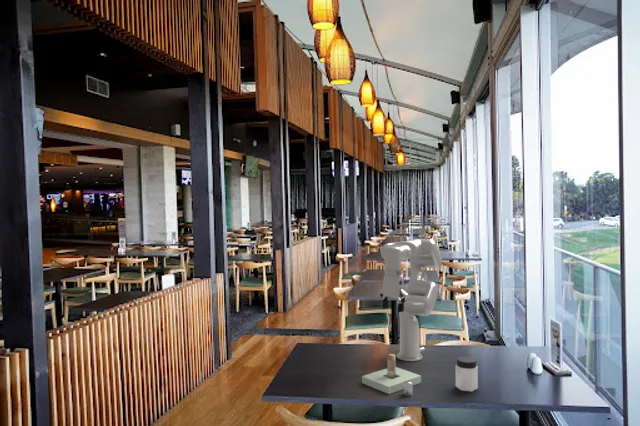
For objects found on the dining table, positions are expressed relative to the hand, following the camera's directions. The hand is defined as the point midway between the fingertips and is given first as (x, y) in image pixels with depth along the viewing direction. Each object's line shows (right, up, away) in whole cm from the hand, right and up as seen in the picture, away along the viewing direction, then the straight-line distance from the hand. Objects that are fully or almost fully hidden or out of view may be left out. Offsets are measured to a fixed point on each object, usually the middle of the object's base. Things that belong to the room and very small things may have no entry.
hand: (393, 309), depth 224 cm
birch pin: (-3, -29, -15) cm, 32 cm away
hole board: (-3, -29, -15) cm, 32 cm away
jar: (+28, -29, -21) cm, 45 cm away
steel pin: (+2, -29, -27) cm, 40 cm away
